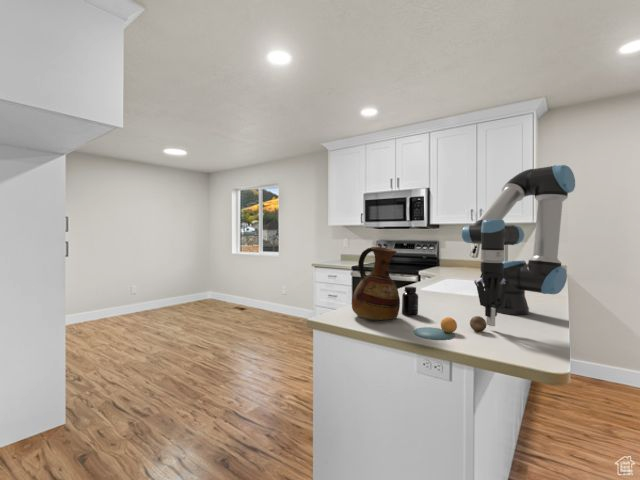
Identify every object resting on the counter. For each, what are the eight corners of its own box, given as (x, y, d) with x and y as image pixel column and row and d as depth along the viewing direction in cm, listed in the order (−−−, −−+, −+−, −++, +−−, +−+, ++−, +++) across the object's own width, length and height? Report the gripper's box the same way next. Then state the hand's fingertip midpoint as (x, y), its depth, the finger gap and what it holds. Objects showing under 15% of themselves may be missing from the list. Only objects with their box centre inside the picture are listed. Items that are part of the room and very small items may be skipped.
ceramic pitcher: (391, 327, 128) (392, 248, 127) (343, 320, 137) (344, 246, 136) (405, 315, 145) (406, 246, 144) (361, 310, 154) (362, 245, 154)
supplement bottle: (418, 316, 143) (419, 288, 143) (402, 315, 144) (402, 288, 144) (417, 312, 150) (417, 286, 149) (401, 312, 151) (401, 285, 151)
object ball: (446, 312, 124) (435, 321, 123) (455, 316, 118) (443, 325, 118) (454, 324, 124) (442, 333, 124) (462, 328, 119) (451, 338, 118)
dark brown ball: (468, 313, 125) (464, 327, 125) (479, 317, 119) (475, 332, 119) (480, 316, 126) (477, 330, 126) (491, 320, 121) (487, 335, 121)
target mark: (440, 327, 128) (440, 326, 128) (462, 338, 114) (462, 338, 114) (406, 328, 125) (406, 328, 125) (424, 341, 112) (424, 340, 112)
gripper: (483, 262, 118) (481, 329, 119) (515, 262, 121) (513, 327, 122) (469, 260, 126) (468, 323, 127) (500, 260, 128) (499, 321, 129)
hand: (490, 325), depth 124 cm, fingers closed
